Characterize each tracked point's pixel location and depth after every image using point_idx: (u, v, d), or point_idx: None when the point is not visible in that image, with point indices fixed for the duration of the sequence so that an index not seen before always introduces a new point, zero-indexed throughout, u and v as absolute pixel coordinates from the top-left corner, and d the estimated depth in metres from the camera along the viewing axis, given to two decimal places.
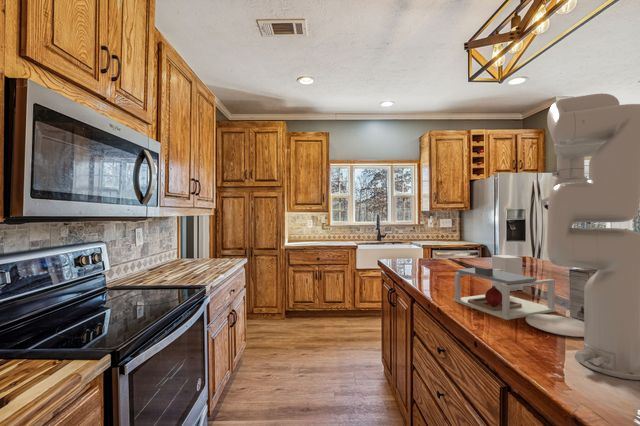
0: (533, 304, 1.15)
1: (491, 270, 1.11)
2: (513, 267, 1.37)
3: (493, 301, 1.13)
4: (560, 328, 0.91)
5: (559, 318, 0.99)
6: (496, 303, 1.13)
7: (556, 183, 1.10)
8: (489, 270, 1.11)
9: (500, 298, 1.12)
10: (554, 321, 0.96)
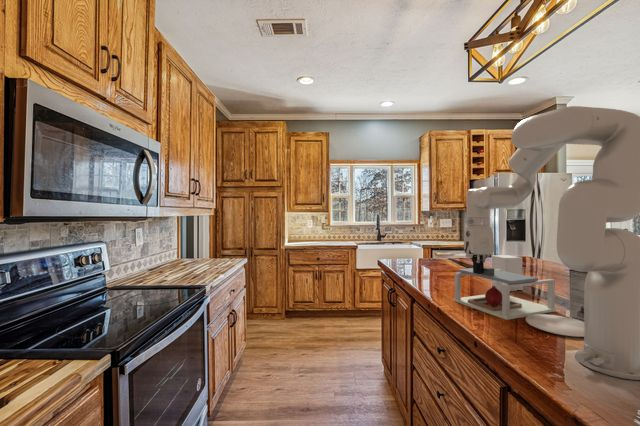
0: (533, 304, 1.15)
1: (493, 270, 1.11)
2: (513, 267, 1.37)
3: (493, 302, 1.13)
4: (560, 328, 0.91)
5: (559, 318, 0.99)
6: (496, 303, 1.13)
7: (474, 231, 1.09)
8: (491, 270, 1.11)
9: (500, 298, 1.12)
10: (554, 321, 0.96)
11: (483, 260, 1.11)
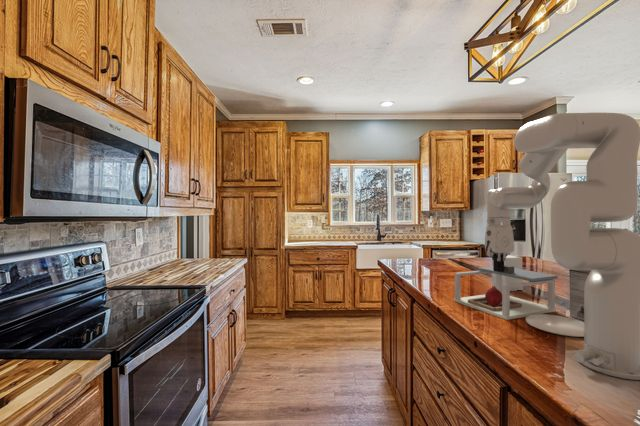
0: (533, 304, 1.15)
1: (513, 268, 1.15)
2: None
3: (493, 302, 1.13)
4: (560, 328, 0.91)
5: (559, 318, 0.99)
6: (496, 303, 1.13)
7: (495, 230, 1.12)
8: (511, 268, 1.14)
9: (500, 298, 1.12)
10: (554, 321, 0.96)
11: (503, 258, 1.15)
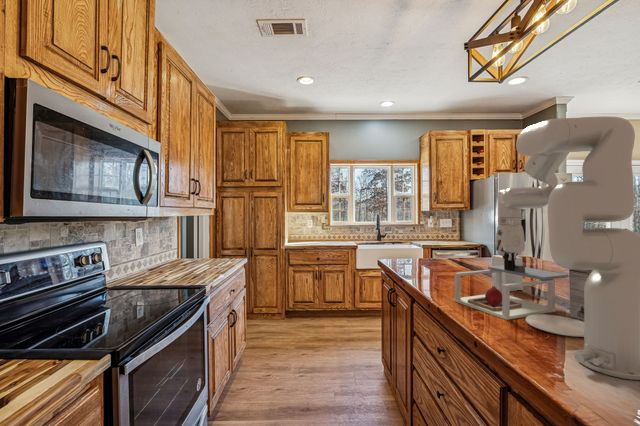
0: (533, 304, 1.15)
1: (523, 267, 1.17)
2: None
3: (493, 301, 1.13)
4: (560, 328, 0.91)
5: (559, 318, 0.99)
6: (496, 303, 1.13)
7: (506, 230, 1.14)
8: (522, 267, 1.16)
9: (500, 298, 1.12)
10: (554, 321, 0.96)
11: (514, 258, 1.17)
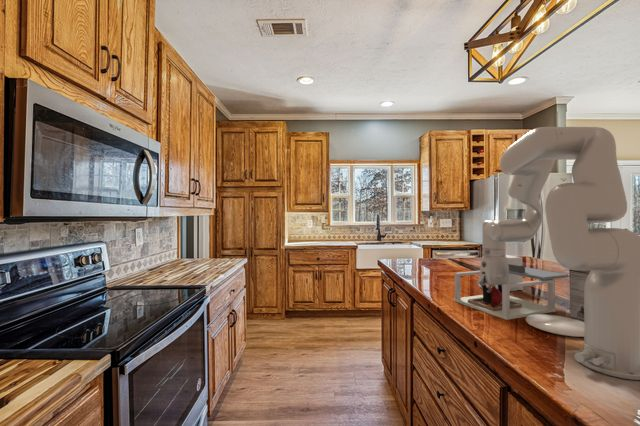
0: (533, 304, 1.15)
1: (523, 267, 1.17)
2: None
3: (493, 301, 1.13)
4: (560, 328, 0.91)
5: (559, 318, 0.99)
6: (496, 303, 1.13)
7: (490, 262, 1.11)
8: (522, 267, 1.16)
9: (500, 298, 1.12)
10: (554, 321, 0.96)
11: None
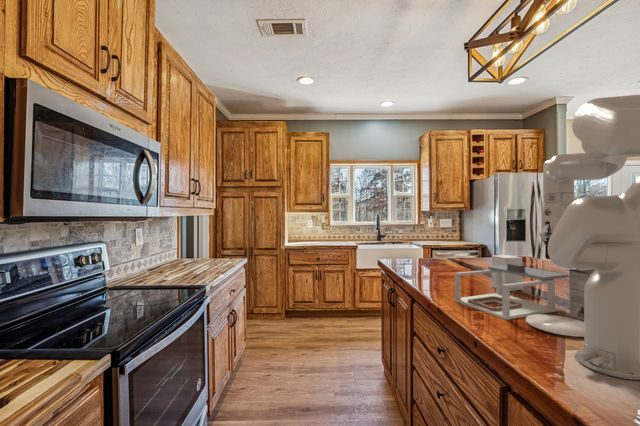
0: (533, 304, 1.15)
1: (523, 267, 1.17)
2: None
3: None
4: (560, 328, 0.91)
5: (559, 318, 0.99)
6: None
7: (556, 209, 0.91)
8: (522, 267, 1.16)
9: None
10: (554, 321, 0.96)
11: None
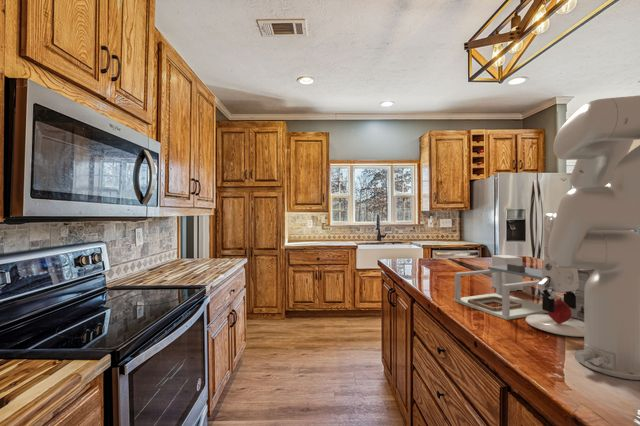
0: (533, 304, 1.15)
1: (523, 267, 1.17)
2: None
3: (560, 318, 0.92)
4: (560, 328, 0.91)
5: None
6: (563, 319, 0.92)
7: (557, 264, 0.91)
8: (522, 267, 1.16)
9: (569, 313, 0.92)
10: (554, 321, 0.96)
11: (575, 293, 0.95)
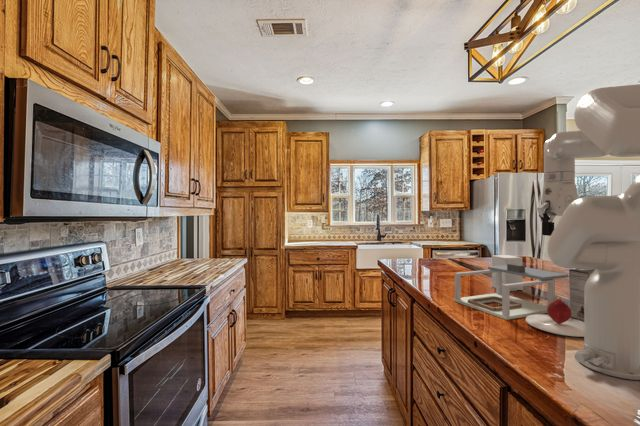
0: (533, 304, 1.15)
1: (523, 267, 1.17)
2: None
3: (559, 317, 0.92)
4: (560, 328, 0.91)
5: None
6: (563, 319, 0.92)
7: (557, 187, 0.91)
8: (522, 267, 1.16)
9: (568, 313, 0.92)
10: (554, 321, 0.96)
11: None
